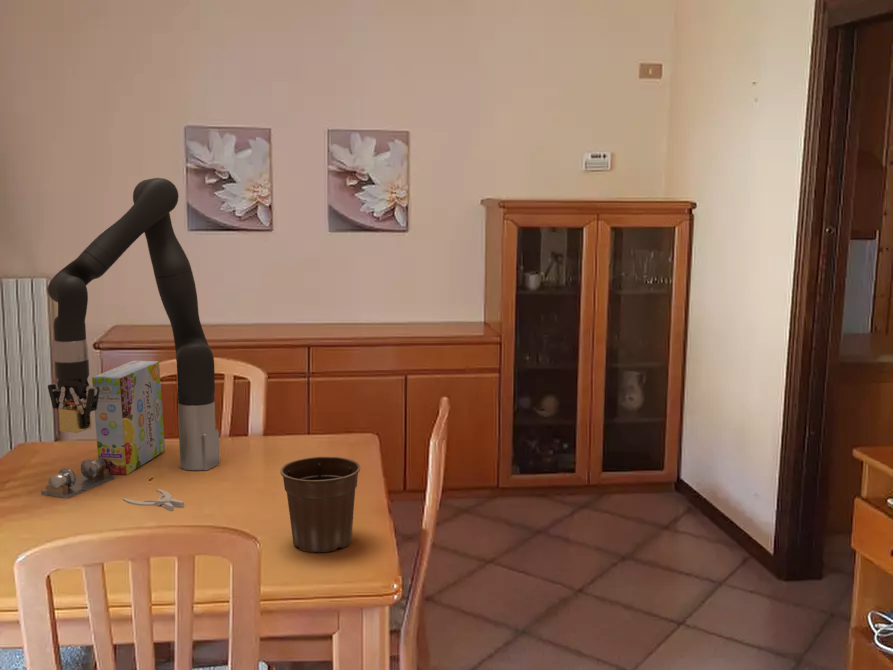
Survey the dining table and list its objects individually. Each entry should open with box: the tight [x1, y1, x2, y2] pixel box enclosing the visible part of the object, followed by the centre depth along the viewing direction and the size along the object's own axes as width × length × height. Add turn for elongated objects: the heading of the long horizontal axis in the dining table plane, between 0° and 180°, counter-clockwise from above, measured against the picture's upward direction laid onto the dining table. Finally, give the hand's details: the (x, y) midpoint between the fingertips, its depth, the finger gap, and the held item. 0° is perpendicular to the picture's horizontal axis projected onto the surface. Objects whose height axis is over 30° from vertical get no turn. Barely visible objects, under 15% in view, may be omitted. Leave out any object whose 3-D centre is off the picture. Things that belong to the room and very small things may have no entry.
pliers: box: [122, 488, 185, 512], centre depth 215 cm, size 10×2×15 cm
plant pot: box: [280, 456, 361, 553], centre depth 190 cm, size 16×16×16 cm
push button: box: [58, 399, 92, 434], centre depth 223 cm, size 5×5×7 cm
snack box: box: [91, 360, 166, 476], centre depth 243 cm, size 22×9×26 cm, turn 171°
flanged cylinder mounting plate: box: [40, 457, 115, 499], centre depth 225 cm, size 16×8×6 cm, turn 160°
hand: (75, 426), depth 223 cm, fingers closed on push button, 5 cm apart
